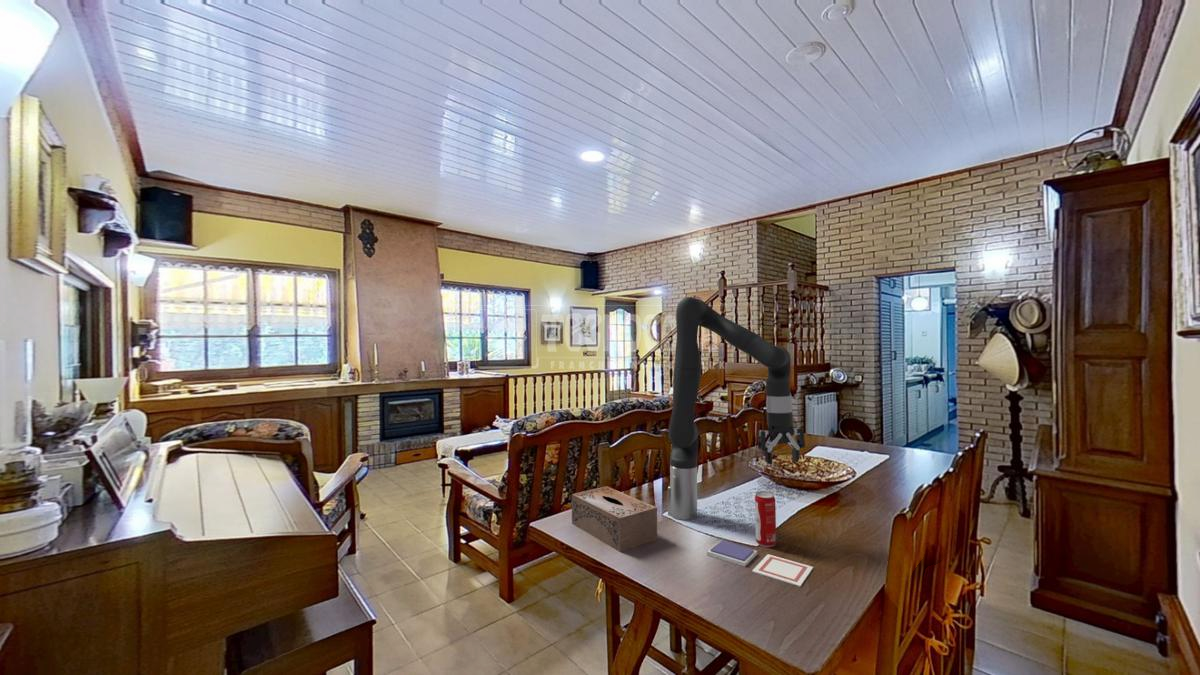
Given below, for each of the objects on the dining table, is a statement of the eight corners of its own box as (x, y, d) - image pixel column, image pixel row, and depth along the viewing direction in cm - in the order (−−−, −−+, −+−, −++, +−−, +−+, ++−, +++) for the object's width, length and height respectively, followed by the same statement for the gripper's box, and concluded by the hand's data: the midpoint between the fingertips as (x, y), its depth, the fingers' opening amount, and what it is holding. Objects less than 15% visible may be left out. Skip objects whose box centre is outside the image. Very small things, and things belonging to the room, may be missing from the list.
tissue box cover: (571, 524, 154) (571, 494, 154) (606, 514, 162) (606, 486, 163) (619, 553, 133) (619, 518, 133) (657, 540, 142) (656, 507, 142)
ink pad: (707, 555, 131) (707, 549, 131) (720, 543, 138) (720, 538, 138) (745, 566, 124) (745, 561, 124) (757, 554, 131) (757, 549, 131)
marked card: (752, 571, 122) (752, 570, 122) (767, 555, 131) (767, 553, 131) (800, 586, 114) (800, 585, 114) (813, 568, 123) (813, 566, 123)
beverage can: (775, 540, 140) (775, 490, 140) (776, 549, 134) (776, 497, 134) (755, 537, 142) (755, 488, 142) (755, 546, 136) (754, 495, 136)
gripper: (794, 407, 149) (797, 458, 148) (752, 410, 147) (755, 462, 146) (807, 410, 141) (810, 464, 141) (763, 413, 139) (766, 467, 139)
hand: (782, 462), depth 144 cm, fingers open, 8 cm apart
